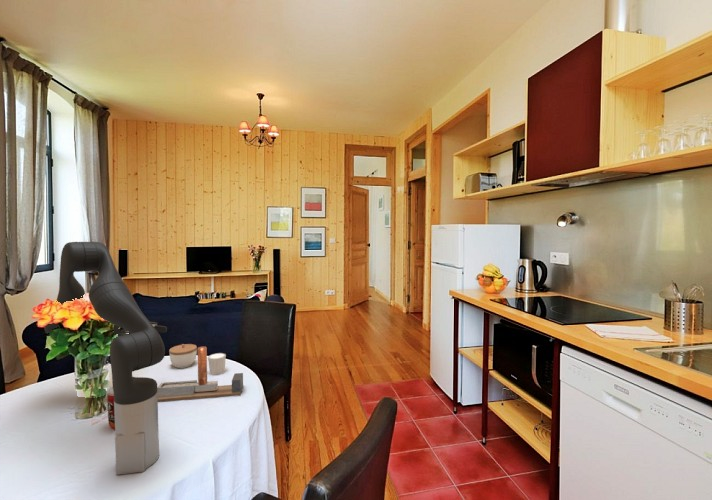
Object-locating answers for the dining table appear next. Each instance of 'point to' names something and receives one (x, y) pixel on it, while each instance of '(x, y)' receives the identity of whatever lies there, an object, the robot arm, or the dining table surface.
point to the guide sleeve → (176, 389)
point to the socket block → (237, 382)
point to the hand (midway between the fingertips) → (160, 333)
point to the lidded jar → (183, 355)
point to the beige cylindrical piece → (217, 363)
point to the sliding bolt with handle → (201, 374)
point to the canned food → (111, 408)
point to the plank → (204, 394)
